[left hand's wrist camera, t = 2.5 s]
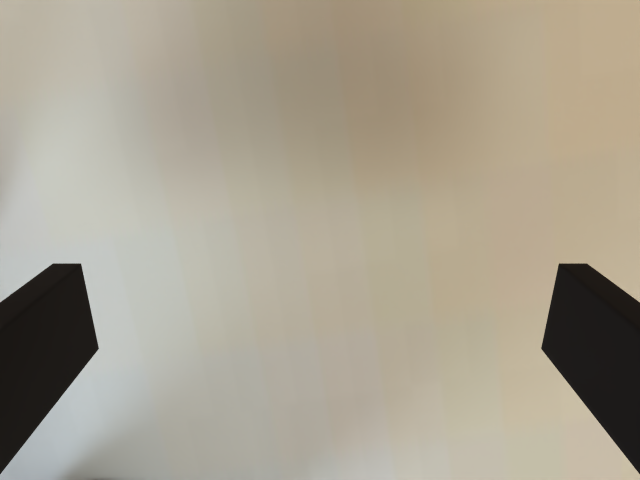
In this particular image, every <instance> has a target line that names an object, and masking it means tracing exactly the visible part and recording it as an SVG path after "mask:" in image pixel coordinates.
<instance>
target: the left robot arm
mask: <svg viewBox="0 0 640 480" xmlns="http://www.w3.org/2000/svg"><path fill="white" fill-rule="evenodd" d="M98 349H99V348H98V343H97V338H96V333H95V329H94V324H93V319H92V314H91V309H90V305H89V300H88V295H87V290H86V285H85V281H84V276H83V271H82V266H81V264H52V265H51V266H49V267H48V268H47V269H45V270H44V271H42V272H41V273H40V274H38V275H37V276H36V277H34V278H33V279H32V280H30V281H29V282H28V283H26V284H25V285H23V286H22V287H21V288H19V289H18V290H17V291H15V292H14V293H13V294H11V295H10V296H9V297H7V298H6V299H4V300H3V301H2V302H0V474H1V472H2V471H3V470H4V469H5V467H6V466H7V465H8V464H9V462H10V461H11V460H12V458H13V457H14V456H15V455H16V453H17V452H18V451H19V450H20V448H21V447H22V446H23V444H24V443H25V442H26V441H27V439H28V438H29V437H30V436H31V434H32V433H33V432H34V430H35V429H36V428H37V427H38V425H39V424H40V423H41V422H42V420H43V419H44V418H45V416H46V415H47V414H48V413H49V411H50V410H51V409H52V408H53V406H54V405H55V404H56V402H57V401H58V400H59V399H60V397H61V396H62V395H63V393H64V392H65V391H66V390H67V388H68V387H69V386H70V385H71V383H72V382H73V381H74V379H75V378H76V377H77V376H78V374H79V373H80V372H81V371H82V369H83V368H84V367H85V365H86V364H87V363H88V362H89V360H90V359H91V358H92V357H93V355H94V354H95V353H96V351H97V350H98ZM541 349H542V350H543V351H544V353H545V354H546V355H547V357H548V358H549V359H550V360H551V362H552V363H553V364H554V365H555V367H556V368H557V369H558V371H559V372H560V373H561V374H562V376H563V377H564V378H565V379H566V381H567V382H568V383H569V385H570V386H571V387H572V388H573V390H574V391H575V392H576V394H577V395H578V396H579V397H580V399H581V400H582V401H583V402H584V404H585V405H586V406H587V408H588V409H589V410H590V411H591V413H592V414H593V415H594V416H595V418H596V419H597V420H598V422H599V423H600V424H601V425H602V427H603V428H604V429H605V430H606V432H607V433H608V434H609V436H610V437H611V438H612V439H613V441H614V442H615V443H616V444H617V446H618V447H619V448H620V450H621V451H622V452H623V453H624V455H625V456H626V457H627V458H628V460H629V461H630V462H631V464H632V465H633V466H634V467H635V469H636V470H637V471H638V472H639V474H640V302H638V301H637V300H636V299H634V298H633V297H631V296H630V295H629V294H627V293H626V292H625V291H623V290H622V289H621V288H619V287H618V286H617V285H615V284H614V283H612V282H611V281H610V280H608V279H607V278H606V277H604V276H603V275H602V274H600V273H599V272H598V271H596V270H595V269H593V268H592V267H591V266H589V265H588V264H559V266H558V271H557V276H556V281H555V285H554V290H553V295H552V300H551V305H550V309H549V314H548V319H547V324H546V329H545V333H544V338H543V343H542V348H541Z"/></svg>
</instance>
